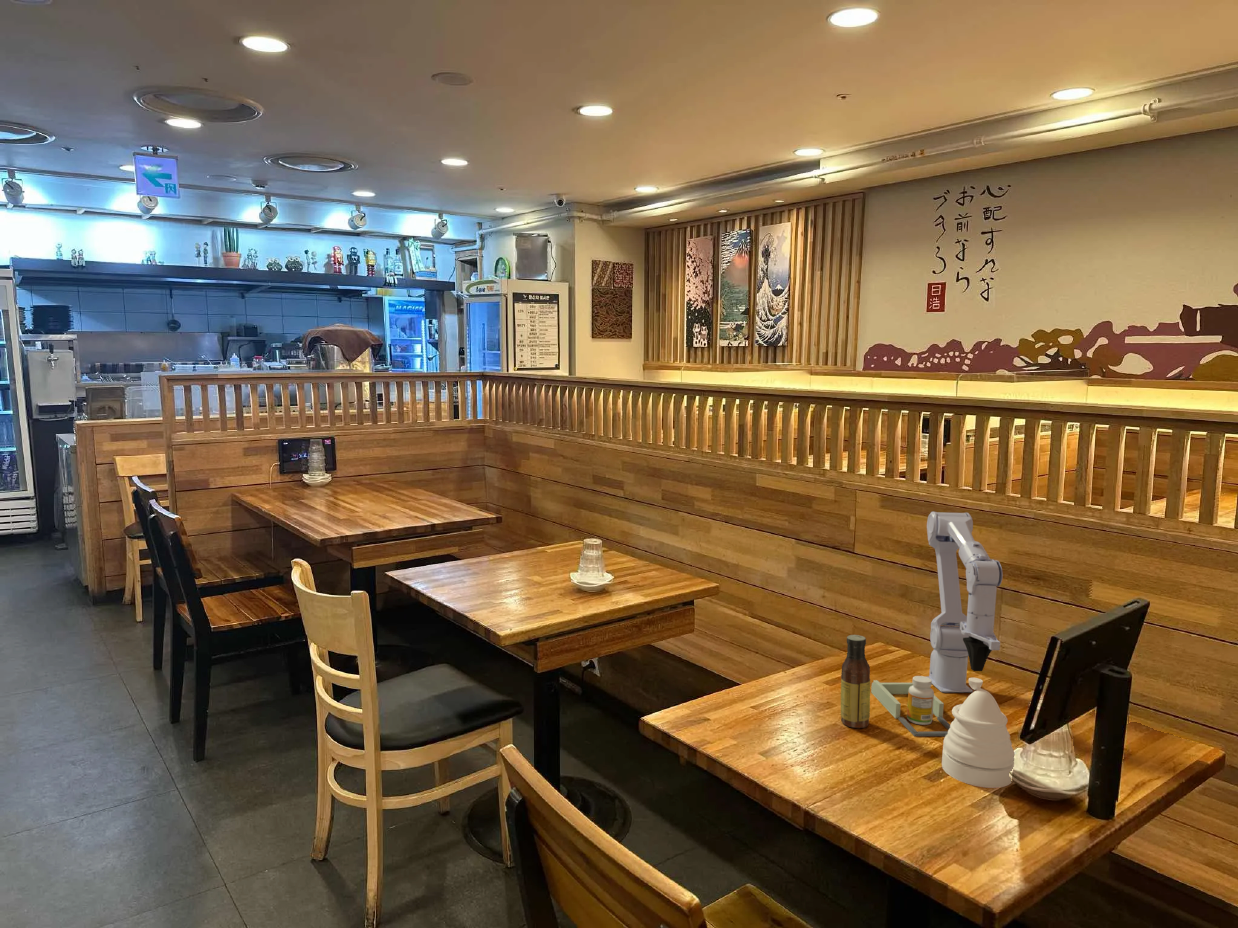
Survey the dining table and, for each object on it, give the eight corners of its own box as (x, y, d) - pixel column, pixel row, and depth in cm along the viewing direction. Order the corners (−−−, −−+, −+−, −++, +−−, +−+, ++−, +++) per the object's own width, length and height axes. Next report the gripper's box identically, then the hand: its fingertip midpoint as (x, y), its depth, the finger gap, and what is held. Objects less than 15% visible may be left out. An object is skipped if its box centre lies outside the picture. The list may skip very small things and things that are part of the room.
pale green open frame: (871, 692, 200) (872, 678, 199) (915, 692, 200) (915, 678, 200) (895, 718, 185) (896, 703, 184) (942, 718, 185) (943, 703, 185)
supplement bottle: (911, 713, 188) (913, 672, 187) (935, 719, 185) (937, 678, 183) (903, 720, 183) (906, 679, 182) (927, 727, 180) (930, 685, 179)
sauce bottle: (866, 718, 184) (871, 633, 182) (871, 730, 178) (877, 642, 176) (836, 716, 185) (841, 631, 183) (841, 728, 179) (845, 640, 176)
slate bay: (898, 719, 184) (898, 716, 184) (941, 719, 185) (941, 716, 185) (914, 736, 176) (914, 733, 176) (959, 735, 176) (959, 733, 176)
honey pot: (927, 761, 164) (933, 675, 162) (977, 752, 169) (983, 668, 167) (976, 792, 153) (982, 700, 150) (1028, 781, 157) (1035, 691, 155)
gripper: (949, 603, 193) (945, 658, 194) (979, 622, 178) (975, 682, 180) (978, 603, 193) (974, 658, 194) (1011, 622, 179) (1006, 681, 180)
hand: (976, 670), depth 187 cm, fingers closed
